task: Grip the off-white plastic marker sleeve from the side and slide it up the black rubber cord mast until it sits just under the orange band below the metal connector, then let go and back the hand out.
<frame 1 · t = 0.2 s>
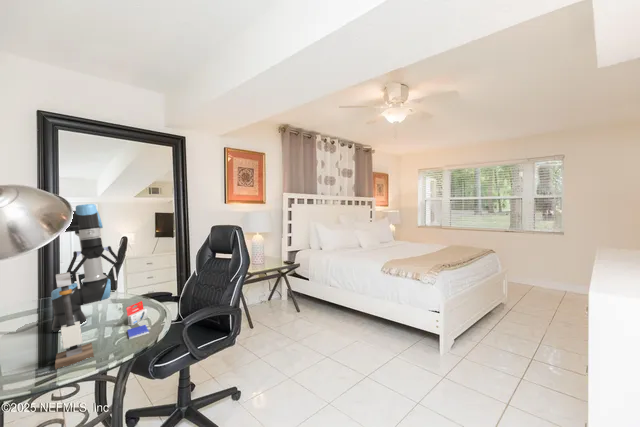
hand: (98, 283, 136), 28 cm above the table, tool pointing down, fingers open, 13 cm apart
hard drive: (138, 333, 146), on the table
ink cartridge box: (138, 321, 163), on the table
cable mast: (75, 357, 125), on the table
marker sleeve: (71, 334, 125), point 10 cm above the table, slide at 0.0 cm
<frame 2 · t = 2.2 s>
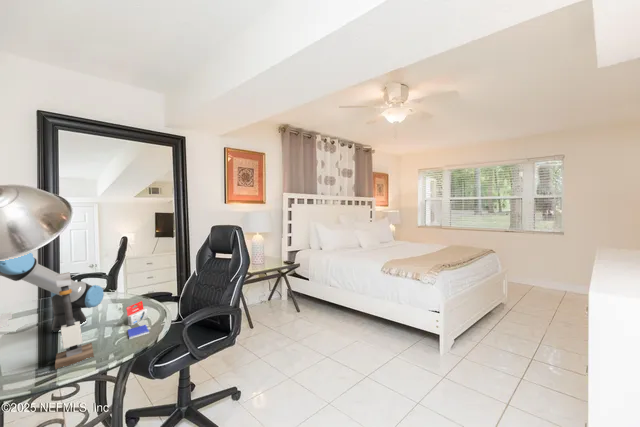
hand: (10, 318, 114), 23 cm above the table, tool horizontal, fingers open, 13 cm apart
nothing on the table moved.
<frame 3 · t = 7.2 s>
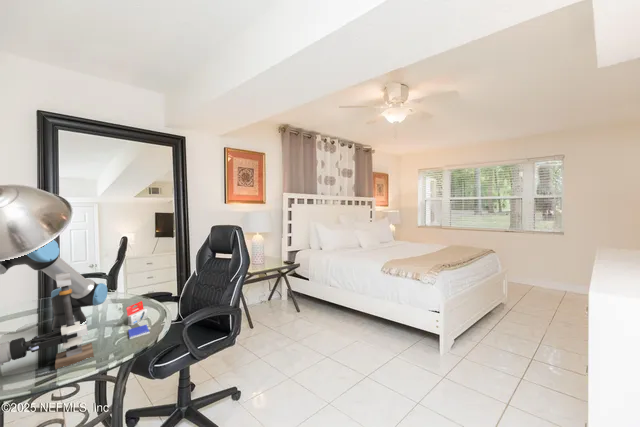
hand: (87, 328, 128), 10 cm above the table, tool horizontal, fingers closed on marker sleeve, 6 cm apart
marker sleeve: (71, 334, 125), point 10 cm above the table, slide at 0.0 cm, touching gripper
everything else where it was.
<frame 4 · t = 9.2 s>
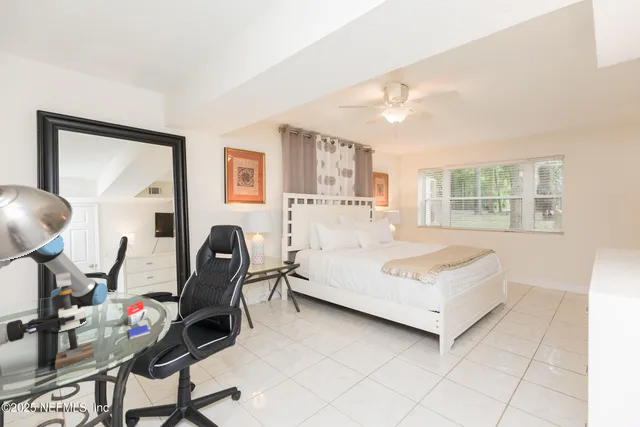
hand: (84, 312, 128), 18 cm above the table, tool horizontal, fingers closed on marker sleeve, 6 cm apart
marker sleeve: (69, 317, 125), point 17 cm above the table, slide at 7.2 cm, touching gripper
everything else where it was.
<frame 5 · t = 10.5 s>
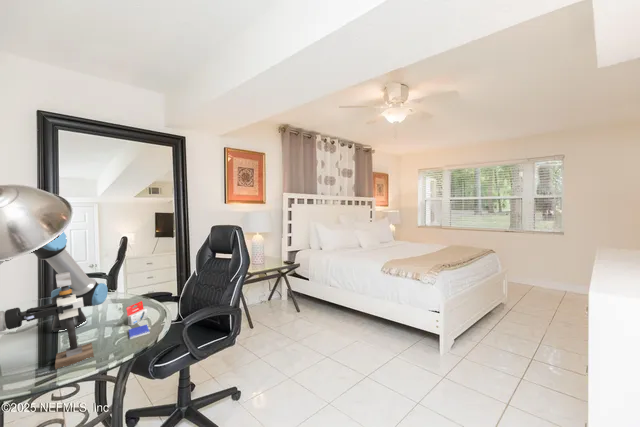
hand: (83, 301, 128), 22 cm above the table, tool horizontal, fingers closed on marker sleeve, 6 cm apart
marker sleeve: (67, 306, 124), point 22 cm above the table, slide at 11.9 cm, touching gripper
everything else where it was.
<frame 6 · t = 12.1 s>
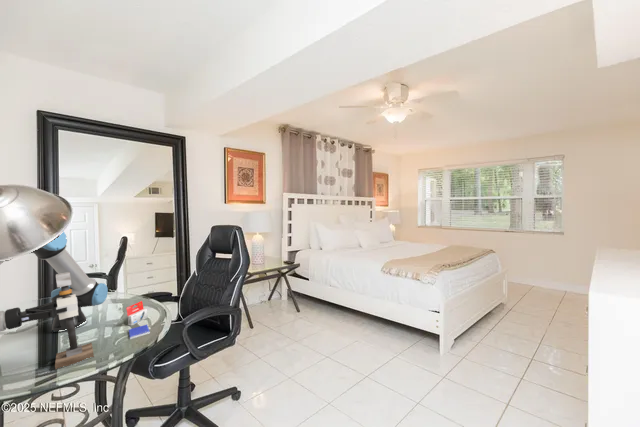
hand: (77, 303, 127), 22 cm above the table, tool horizontal, fingers open, 13 cm apart
marker sleeve: (67, 306, 124), point 22 cm above the table, slide at 12.0 cm
everything else where it was.
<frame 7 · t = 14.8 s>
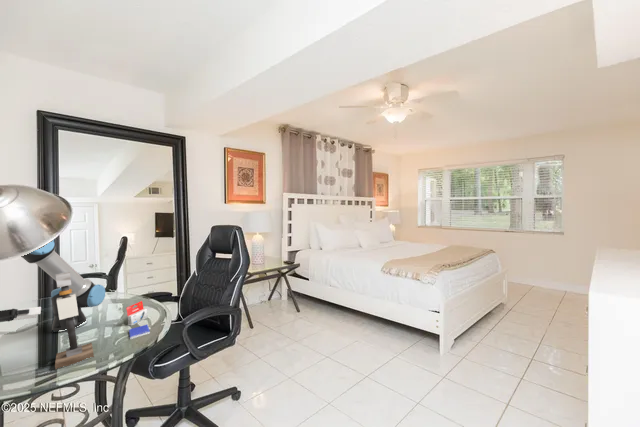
hand: (38, 312, 121), 22 cm above the table, tool horizontal, fingers open, 13 cm apart
nothing on the table moved.
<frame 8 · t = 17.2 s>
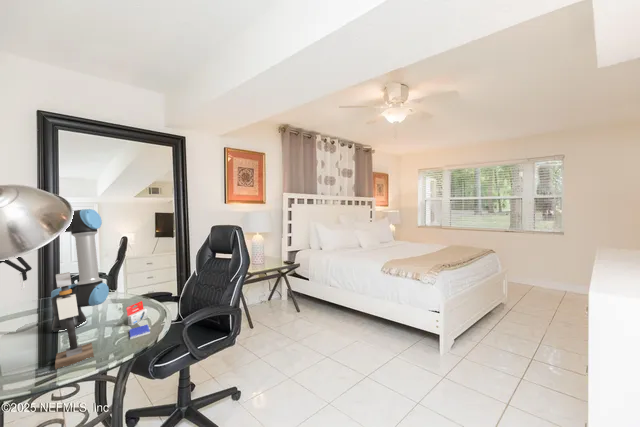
nothing on the table moved.
at the end: marker sleeve slide at 12.0 cm; the gripper is holding nothing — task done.
